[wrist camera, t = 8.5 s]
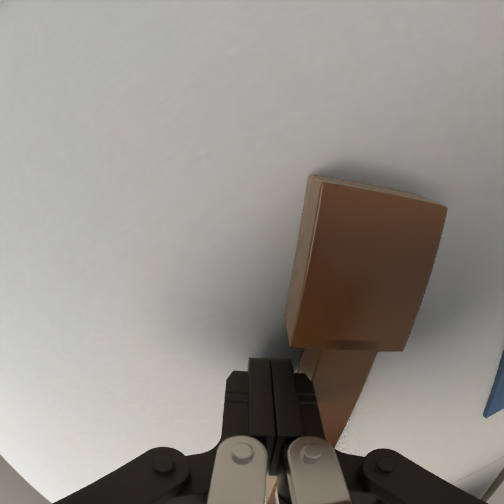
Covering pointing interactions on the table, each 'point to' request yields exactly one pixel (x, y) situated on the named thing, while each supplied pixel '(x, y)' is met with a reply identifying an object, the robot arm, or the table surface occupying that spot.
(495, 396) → the cloth
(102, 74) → the table surface
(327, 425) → the wooden mallet
